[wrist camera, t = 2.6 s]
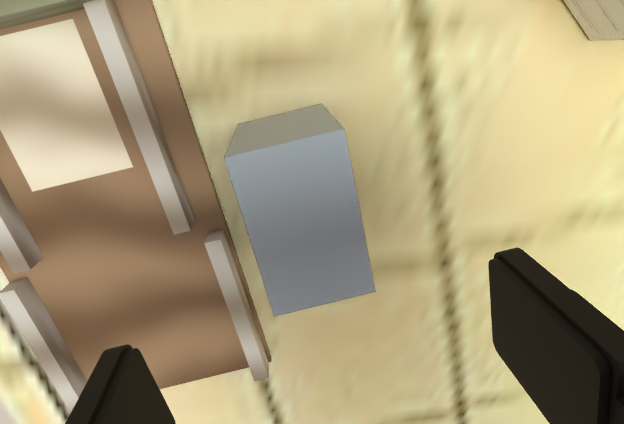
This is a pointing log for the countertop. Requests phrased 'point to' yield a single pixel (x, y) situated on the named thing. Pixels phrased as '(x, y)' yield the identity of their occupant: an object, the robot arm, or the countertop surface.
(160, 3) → the countertop surface
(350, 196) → the slider block
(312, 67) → the countertop surface
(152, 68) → the track
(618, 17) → the supplement box
